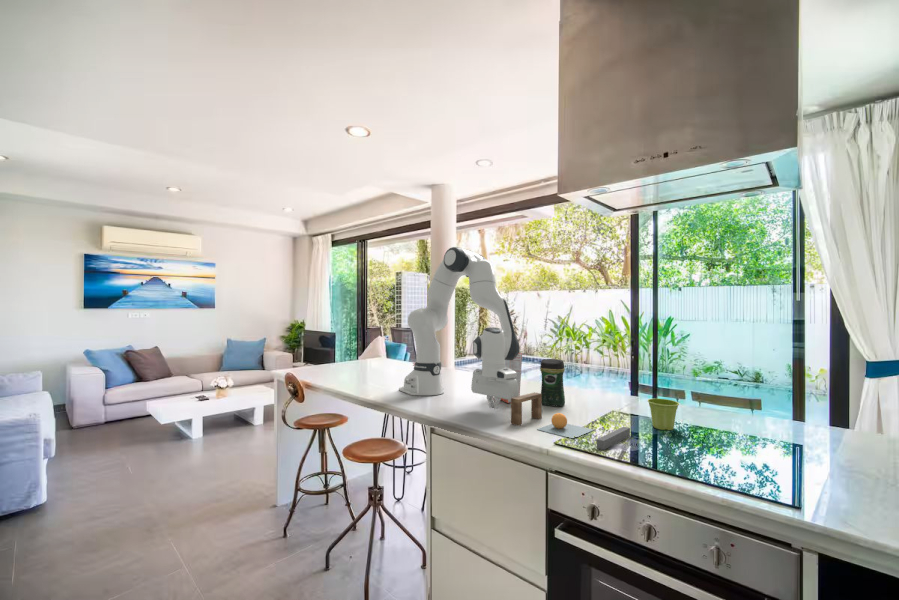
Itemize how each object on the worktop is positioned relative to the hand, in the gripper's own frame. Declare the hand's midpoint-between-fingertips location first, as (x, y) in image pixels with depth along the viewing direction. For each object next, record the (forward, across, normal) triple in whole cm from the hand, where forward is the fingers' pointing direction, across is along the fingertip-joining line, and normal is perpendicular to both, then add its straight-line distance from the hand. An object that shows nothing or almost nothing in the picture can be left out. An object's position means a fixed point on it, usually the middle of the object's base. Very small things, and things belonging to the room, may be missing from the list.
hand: (493, 408), depth 154 cm
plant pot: (+2, +51, +26) cm, 57 cm away
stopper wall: (+2, +46, 0) cm, 46 cm away
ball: (0, +28, 0) cm, 28 cm away
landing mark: (+2, +30, 0) cm, 30 cm away
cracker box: (+2, -10, +20) cm, 23 cm away
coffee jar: (+2, +8, +28) cm, 29 cm away
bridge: (+2, +15, 0) cm, 15 cm away
